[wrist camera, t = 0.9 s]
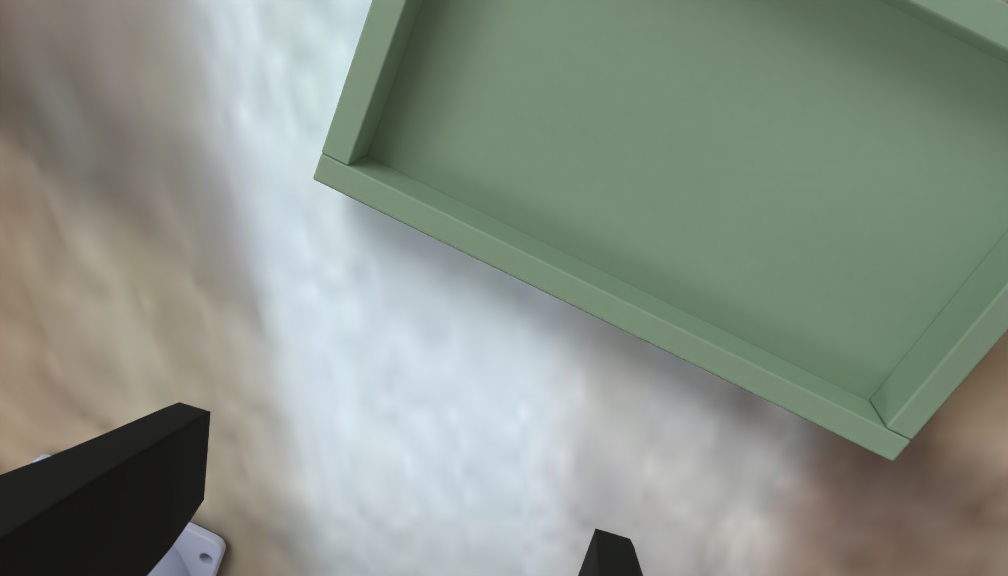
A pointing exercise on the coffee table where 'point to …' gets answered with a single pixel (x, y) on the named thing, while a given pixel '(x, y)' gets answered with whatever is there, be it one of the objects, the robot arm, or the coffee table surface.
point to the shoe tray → (713, 178)
